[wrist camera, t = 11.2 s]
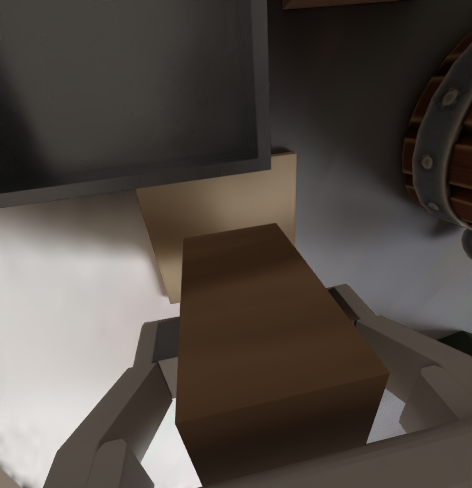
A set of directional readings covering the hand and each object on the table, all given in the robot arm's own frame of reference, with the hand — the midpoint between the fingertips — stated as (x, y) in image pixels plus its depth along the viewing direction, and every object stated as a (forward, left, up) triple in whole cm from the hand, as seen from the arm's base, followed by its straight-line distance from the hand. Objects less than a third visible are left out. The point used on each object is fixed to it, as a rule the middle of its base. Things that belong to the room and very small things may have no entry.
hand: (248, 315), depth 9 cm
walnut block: (0, 0, -3) cm, 3 cm away
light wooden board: (0, 0, -7) cm, 7 cm away
